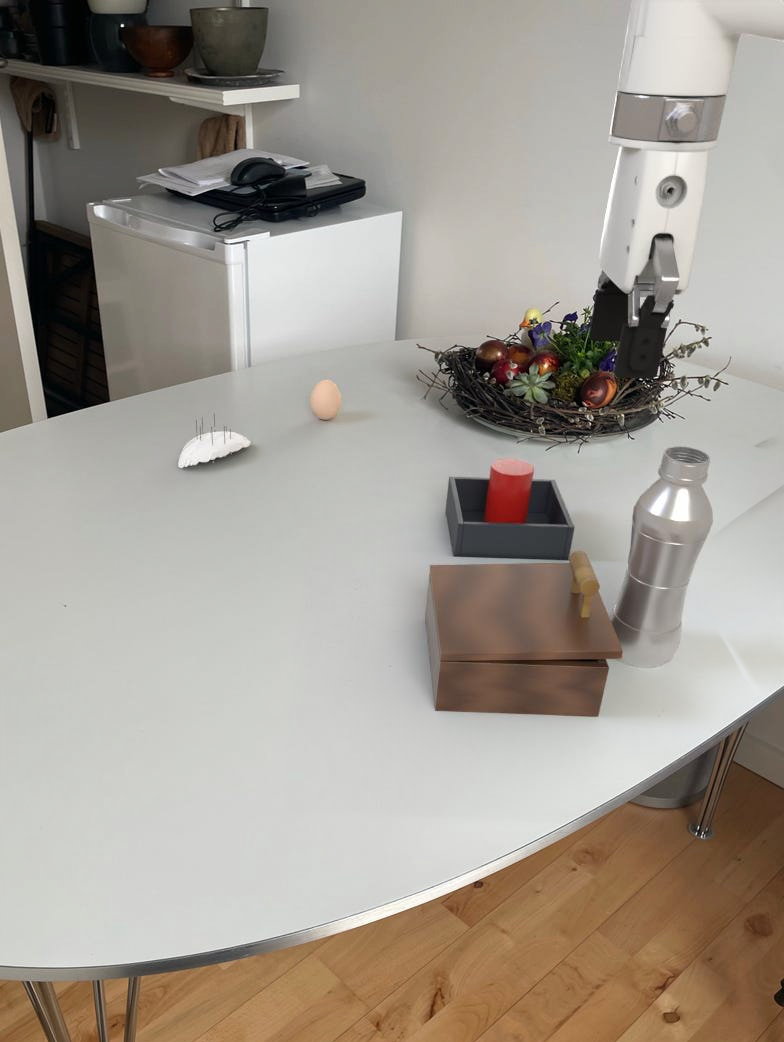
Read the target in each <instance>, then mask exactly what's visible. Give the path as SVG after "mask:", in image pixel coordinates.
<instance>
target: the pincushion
mask: <svg viewBox="0 0 784 1042" xmlns="http://www.w3.org/2000/svg"><path fill="white" fill-rule="evenodd" d="M215 415H216V414H215V413H214V414H213V421H214V422H213V423H214V425H213V426H216V419H215ZM203 420H204V419H203V418H201V426H202V427H201V428H202V430H204V421H203ZM195 424H196V425H195V427H196V428H195V429H196V432H198V425H197V420H195ZM213 426H211V429H213ZM201 428H199V435H196V436H195V437H194V438H192V439H190V440H189V441H187V443H185V445H184V447H183V448H182V450H181V453H180V455H179V457H178V462H177V467H178V468H179V469H183V468H184V467H185V468H187V467H189V466H192V467H193V466H196V465H198V464H199V463H208V462H210V460H211V461H212V464H215V459H216V458H220V459H221V458H223V457H224V458H227V455H229V454H230V455H232V453H234V452H239V450H241V449H243V448H244V449H245V448H249V447H250V445H251V443H252V441H250V439H248V438H247V437H246V436H244V435H242V434H239V433H237V432H234V431H231V430H226V427H223V430H222V431H221V430H220V431H211V432H206V433H202V430H201Z"/></svg>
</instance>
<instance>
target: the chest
mask: <svg viewBox="0 0 784 1042" xmlns="http://www.w3.org/2000/svg"><path fill="white" fill-rule="evenodd" d="M426 594H427V595H426V605H425V612H424V613H425V614H424V621H425V630H426V640H427V648H428V657H429V667H430V676H431V685H432V695H433V704H434V705H433V706H434V711H435V712H451V713H452V712H453V713H477V714H503V715H504V714H506V715H530V716H531V715H533V716H558V717H583V718H584V717H585V718H598V717H599V715H600V710H601V706H602V702H603V697H604V693H605V688H606V684H607V680H608V675H609V670H610V666H609V663H608V659H558V660H478V661H441V659H440V651H439V643H438V635H437V627H436V619H435V611H434V603H433V595H432V587H431V579H430V572H429V574H428V583H427V592H426Z"/></svg>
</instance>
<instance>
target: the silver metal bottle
mask: <svg viewBox="0 0 784 1042" xmlns="http://www.w3.org/2000/svg"><path fill="white" fill-rule="evenodd" d="M660 462H661V463H660V464H659V466H658V470H657V474H658V476H659V478H658V479H657V480H656V481H655V482H653V483H652V484H651V485H650V486H648V487H647V488H646V490H644V492H642V493H641V494H640V495H639V498H637V501H636V502H635V504H634V505H633V510H632V511H633V512H632V517H631V532H630V533H631V534H630V547H629V552H628V558H627V565H626V569H625V575H624V579H623V582H622V584H621V588H620V591H619V594H618V597H617V600H616V602H615V604H614V606H613V608H612V611H611V612H610V615H609V618H610V620H611V623H612V625H613V628H614V630H615V633H616V635H617V638H618V640H619V643H620V645H621V647H622V650H623V653H622V659H617V660H618V661H619V662H621V663H623V664H624V665H628V666H631V667H634V668H638V669H657V668H660V667H663V666H664V665H666V664H667V663H669V662H670V661H672V659H673V658H674V657H675V654H676V653H677V650H678V648H679V646H680V644H681V637H682V617H683V612H684V606H685V602H686V601H685V600H686V595H687V590H688V589H687V588H688V587H689V584H690V581H691V577H692V575H693V572H694V569H695V565H696V562H697V560H698V558H699V555H700V553H701V552H702V549H703V547H704V545H705V542H706V540H707V539H708V536H709V533H710V532H711V529H712V525H713V523H714V517H713V515H714V514H713V507H712V505H711V502H710V499H709V497H708V495H707V493H706V492H705V489H704V487H703V484H704V483H706V482H707V480H708V477H709V476H708V475H709V473H708V471H709V466H710V462H711V456H710V455H709V454H708V453H706V452H705V451H703V450H701V449H698V448H694V447H690V446H681V445H679V446H670V447H667V448H665V449H664V451H663V453H662V457H661V461H660Z"/></svg>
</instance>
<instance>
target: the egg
mask: <svg viewBox="0 0 784 1042" xmlns="http://www.w3.org/2000/svg"><path fill="white" fill-rule="evenodd" d="M309 404H310V405H309V406H310V409H311V411H312V413H313V414H314V415H315V416H316V418H318V419H320V420H324V421H326V420H327V421H328V420H331V419H333V418H334V417H335V416H336V415H338V413H339V412H340V409H341V407H342V395H341V392H340V390H339V387H338V386H337V385H336V384H335V382H333V381H332V380H329V379H322V380H320V381H319V382H317V384H315V386H314V387H313V389H312V391H311V394H310V399H309Z"/></svg>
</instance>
